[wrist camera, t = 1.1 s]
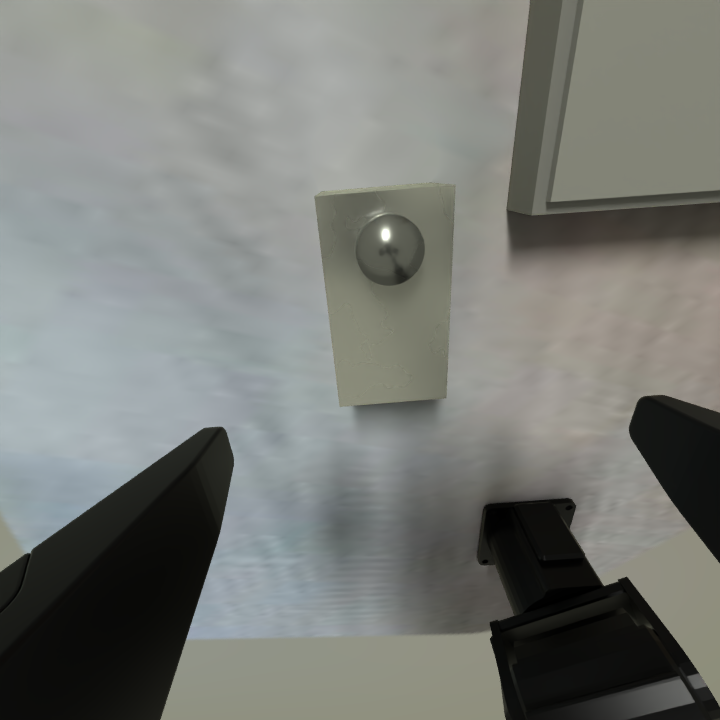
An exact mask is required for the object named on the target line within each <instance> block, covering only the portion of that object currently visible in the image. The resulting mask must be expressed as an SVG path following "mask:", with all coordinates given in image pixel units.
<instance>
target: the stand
mask: <svg viewBox="0 0 720 720" xmlns="http://www.w3.org/2000/svg"><path fill="white" fill-rule="evenodd" d="M716 202H720V0H531V3H530V11H529V20H528V29H527V38H526V46H525V55H524V64H523V73H522V81H521V90H520V99H519V107H518V116H517V125H516V134H515V142H514V151H513V160H512V168H511V177H510V186H509V195H508V203H507V210H509V211H514V212H518V213H523V214H527V215H545V214H560V213H574V212H588V211H602V210H616V209H630V208H645V207H659V206H673V205H687V204H701V203H716Z"/></svg>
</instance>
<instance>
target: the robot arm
mask: <svg viewBox="0 0 720 720" xmlns="http://www.w3.org/2000/svg"><path fill="white" fill-rule="evenodd" d="M629 434H630V437H631V439H632V440H633V442H634V444H635V445H636V447H637V448H638V450H639V451H640V453H641V455H642V456H643V458H644V459H645V461H646V462H647V464H648V465H649V467H650V469H651V470H652V472H653V473H654V475H655V476H656V478H657V479H658V481H659V483H660V484H661V486H662V487H663V489H664V490H665V492H666V493H667V495H668V496H669V498H670V499H671V501H672V502H673V503H674V505H675V506H676V507H677V509H678V510H679V512H680V513H681V514H682V515H683V517H684V518H685V519H686V521H687V522H688V523H689V524H690V526H691V527H692V528H693V530H694V531H695V532H696V533H697V535H698V536H699V537H700V539H701V540H702V541H703V542H704V544H705V545H706V546H707V548H708V549H709V550H710V551H711V553H712V554H713V555H714V557H715V558H716V559H717V560H718V562H719V563H720V413H719V412H716V411H713V410H709V409H706V408H703V407H700V406H697V405H694V404H691V403H688V402H684V401H681V400H678V399H675V398H672V397H669V396H665V395H653V396H644V397H641V398H640V399H639V400H638V402H637V405H636V408H635V411H634V414H633V416H632V419H631V422H630V425H629ZM233 467H234V457H233V453H232V449H231V446H230V443H229V439H228V436H227V433H226V430H225V429H224V428H223V427H209V428H203V429H202V430H200V431H199V432H197V433H196V434H195V435H193V436H192V437H190V438H189V439H188V440H186V441H185V442H183V443H182V444H180V445H179V446H178V447H176V448H175V449H173V450H172V451H171V452H169V453H168V454H166V455H165V456H164V457H162V458H161V459H159V460H158V461H156V462H155V463H154V464H152V465H151V466H149V467H148V468H147V469H145V470H144V471H142V472H141V473H139V474H138V475H137V476H135V477H134V478H132V479H131V480H130V481H128V482H127V483H125V484H124V485H123V486H121V487H120V488H118V489H117V490H115V491H114V492H113V493H111V494H110V495H108V496H107V497H106V498H104V499H103V500H101V501H100V502H98V503H97V504H96V505H94V506H93V507H91V508H90V509H89V510H87V511H86V512H84V513H83V514H82V515H80V516H79V517H77V518H76V519H74V520H73V521H72V522H70V523H69V524H67V525H66V526H65V527H63V528H62V529H60V530H59V531H57V532H56V533H55V534H53V535H52V536H50V537H49V538H48V539H46V540H45V541H43V542H42V543H41V544H39V545H38V546H36V547H35V548H34V549H32V551H31V554H30V553H27V554H25V555H23V556H22V557H21V558H19V559H18V560H16V561H15V562H14V563H12V564H11V565H9V566H8V567H7V568H5V569H4V570H2V571H1V572H0V720H160V719H161V716H162V712H163V709H164V706H165V704H166V700H167V697H168V694H169V691H170V688H171V685H172V681H173V679H174V675H175V672H176V669H177V666H178V663H179V660H180V657H181V654H182V650H183V647H184V644H185V641H186V638H187V635H188V632H189V629H190V625H191V622H192V619H193V616H194V613H195V610H196V607H197V604H198V601H199V597H200V594H201V591H202V588H203V585H204V582H205V579H206V576H207V572H208V569H209V566H210V563H211V560H212V557H213V554H214V551H215V547H216V544H217V541H218V537H219V534H220V530H221V526H222V521H223V516H224V511H225V506H226V501H227V497H228V492H229V487H230V482H231V477H232V472H233ZM575 509H576V505H575V503H574V502H573V500H572V499H569V498H566V499H552V500H538V501H523V502H509V503H495V504H488V505H486V506H485V507H484V511H483V518H482V526H481V533H480V540H479V548H478V555H477V559H478V562H479V564H480V565H484V566H485V565H495V566H496V568H497V571H498V574H499V576H500V579H501V581H502V584H503V587H504V589H505V592H506V595H507V597H508V600H509V602H510V605H511V608H512V610H513V613H514V616H513V617H510V618H507V619H504V620H501V621H498V620H495V621H492V622H490V627H491V631H492V637H491V638H490V641H491V644H492V648H493V651H494V654H495V658H496V662H497V666H498V670H499V675H500V681H501V689H502V697H503V704H504V713H505V717H506V720H720V707H719V705H718V703H717V701H716V700H715V698H714V696H713V695H712V693H711V691H710V690H709V688H708V687H707V685H706V683H705V682H704V680H703V679H702V677H701V676H700V674H699V672H698V671H697V670H696V668H695V667H694V665H693V664H692V662H691V661H690V659H689V658H688V656H687V655H686V654H685V652H684V651H683V649H682V648H681V647H680V645H679V644H678V643H677V641H676V640H675V639H674V637H673V636H672V635H671V634H670V632H669V631H668V630H667V628H666V627H665V626H664V624H663V623H662V622H661V620H660V619H659V618H658V616H657V615H656V614H655V613H654V611H653V610H652V609H651V607H650V606H649V605H648V603H647V602H646V601H645V600H644V598H643V597H642V596H641V595H640V593H639V592H638V591H637V589H636V588H635V587H634V585H633V584H632V583H631V581H630V580H629V579H628V578H627V577H625V578H621V579H618V582H616V583H613V584H609V585H606V586H604V585H603V584H602V582H601V581H600V579H599V577H598V576H597V574H596V573H595V571H594V569H593V568H592V566H591V565H590V563H589V561H588V560H587V558H586V557H585V553H584V551H583V550H582V548H581V547H580V545H579V544H578V542H577V540H576V539H575V537H574V536H573V534H572V532H571V531H570V525H571V522H572V519H573V515H574V512H575Z"/></svg>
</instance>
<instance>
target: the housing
mask: <svg viewBox="0 0 720 720" xmlns="http://www.w3.org/2000/svg"><path fill="white" fill-rule="evenodd" d="M314 197H315V205H316V213H317V222H318V230H319V238H320V247H321V255H322V263H323V272H324V280H325V288H326V297H327V305H328V313H329V322H330V330H331V338H332V347H333V355H334V364H335V372H336V380H337V389H338V397H339V405H340V407H343V406H355V405H368V404H380V403H393V402H405V401H417V400H430V399H442V398H446V394H447V370H448V347H449V323H450V300H451V277H452V253H453V230H454V206H455V185H453V184H442V183H431V182H430V183H418V184H406V185H394V186H382V187H369V188H357V189H345V190H333V191H322V192H320V193H319V194H317V195H316V196H314Z"/></svg>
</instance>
